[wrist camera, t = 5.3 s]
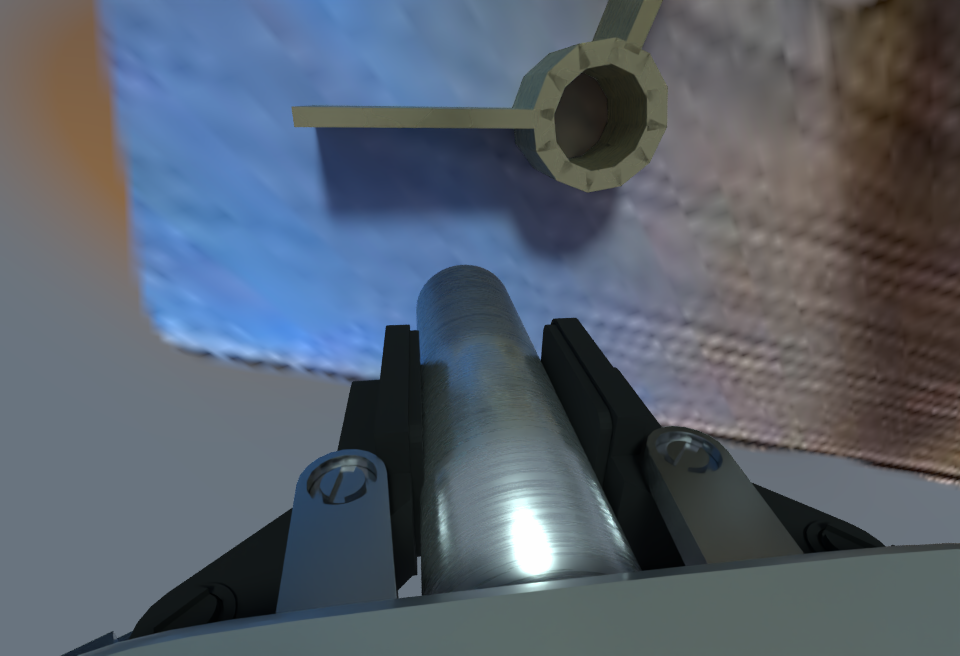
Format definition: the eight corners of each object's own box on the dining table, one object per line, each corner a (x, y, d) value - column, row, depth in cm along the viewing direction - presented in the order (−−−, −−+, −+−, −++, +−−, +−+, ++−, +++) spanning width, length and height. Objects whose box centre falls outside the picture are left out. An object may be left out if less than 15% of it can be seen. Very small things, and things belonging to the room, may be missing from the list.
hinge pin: (548, 269, 15) (896, 714, 4) (499, 379, 16) (661, 905, 6) (420, 226, 14) (450, 682, 3) (381, 348, 15) (308, 928, 5)
